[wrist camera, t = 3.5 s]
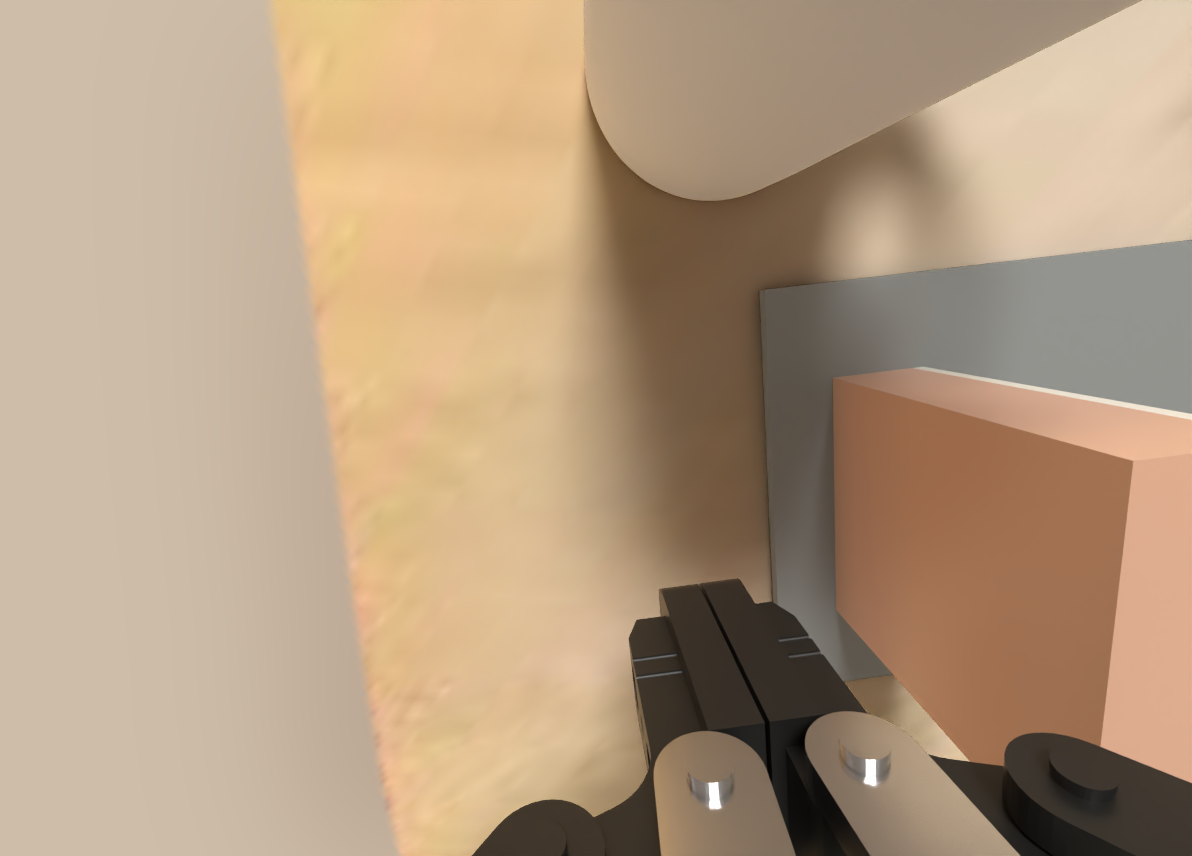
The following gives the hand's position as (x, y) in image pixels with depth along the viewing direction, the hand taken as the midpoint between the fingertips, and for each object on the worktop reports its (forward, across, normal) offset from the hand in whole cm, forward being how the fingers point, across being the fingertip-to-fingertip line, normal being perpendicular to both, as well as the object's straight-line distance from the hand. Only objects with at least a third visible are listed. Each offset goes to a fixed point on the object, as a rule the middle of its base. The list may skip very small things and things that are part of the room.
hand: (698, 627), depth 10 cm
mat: (+6, -10, 0) cm, 12 cm away
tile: (+5, -6, 0) cm, 8 cm away
